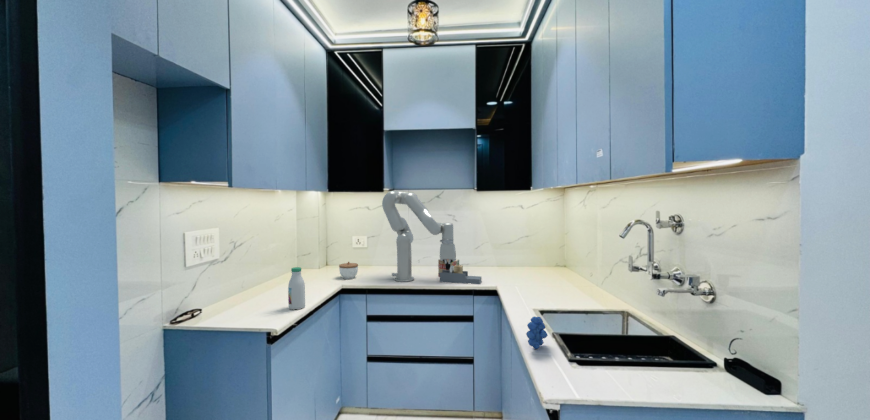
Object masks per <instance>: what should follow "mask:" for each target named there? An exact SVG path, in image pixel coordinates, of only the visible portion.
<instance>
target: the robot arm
mask: <svg viewBox="0 0 870 420" xmlns="http://www.w3.org/2000/svg"><path fill="white" fill-rule="evenodd" d="M397 204H398V205H405V206H407V207H408V209H410V210H411V212H412V213H413V214H414V215H415V216H416V218H417V219H418V220H419V221H420V223H421V225H423V226H424V228H426V230H427V231H428V232H429V233H430V234H431V235H433V236H437V235H439V234H441V239H440V240H439V242H440V247H439V259H440V260H441V261H443V262H444V263H445V264H446V270H449V269H450V267H451V265H450V263H451V262H452V261H456V259H457V258H456V257H457V253H456V244H455V243H454V224H453V223H452V222H443V223H442V222H437V221H436V220H435V219H434V218H433V216H432V215H431V214H430V212H429V210H428V208H427V206H426V205H425V204H424V203H423V202H422V201H421V200H420V199H419V197H418V195H417V194H416V193H414V192H408V191H407V192H405V191H397V190H391V191H388V192H387V193H385V195H384V196H383V198H382V201H381V206H382V207H381V208H382V210H383V212H384V214H385V216H386V220H387V221H388V223H389V225H390V228H391V230H392V231H394V232H396V234H397V237H396V241H395V242H396V250H397V251H396V261H397V263H396V265H397V266H396V267H397V269H396V271H397V272H391V276H392V277H395V278H394V281H396V282H401V283H402V282H403V283H405V282H412V281H414V280H415V277H414V276H412V275H413V274H412V270H413V269H412V263H413V262H412V243H413V241H414V236H413V235H414V234H413V233H412V230H411V229H410V226H409V224H408V222H407V220H406V219H405V218H404V217H402V216H401V215H400V212H399V210H398V209H397V206H396V205H397ZM447 259H448V260H449V262H447Z"/></svg>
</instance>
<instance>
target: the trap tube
mask: <svg viewBox="0 0 870 420" xmlns="http://www.w3.org/2000/svg"><path fill="white" fill-rule="evenodd" d="M468 274H469V271H466V270H463V274H462V273H450V270H443V272H440V277H439V282H440V283H451V284H452V283H455V284H468V283H471V284H472V285H473V284H474V285H480V284H481V283H482V276H480V275H479V276H478V275H477V276H475V275H474V276H473V275H468Z"/></svg>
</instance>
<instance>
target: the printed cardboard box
mask: <svg viewBox="0 0 870 420" xmlns="http://www.w3.org/2000/svg"><path fill="white" fill-rule="evenodd" d="M437 262H438V264H437V266H438V268H437V269H438V277H439V278H440V275H439V273H440V272H443V270H446V264H445V263H444V262H443V261H441V260H440V258H439V259H438V261H437ZM447 262H449V260H448V259H447ZM450 265H451V266H455V265H460V259H457V258H456V261H452V262H451V263H450ZM449 270H450V269H449Z"/></svg>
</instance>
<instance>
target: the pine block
mask: <svg viewBox="0 0 870 420" xmlns="http://www.w3.org/2000/svg"><path fill="white" fill-rule="evenodd" d="M463 271H464V265H460V264H459V265H455V266H454V273H462V274H463Z"/></svg>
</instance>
